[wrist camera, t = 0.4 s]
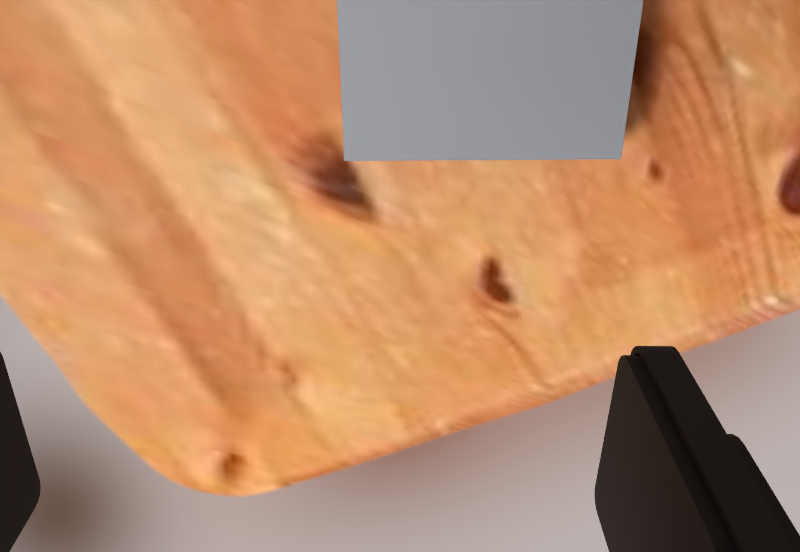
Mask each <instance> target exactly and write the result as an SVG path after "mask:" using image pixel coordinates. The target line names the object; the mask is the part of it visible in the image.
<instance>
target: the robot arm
mask: <svg viewBox="0 0 800 552" xmlns="http://www.w3.org/2000/svg"><path fill="white" fill-rule="evenodd" d="M39 496H40V480H39V476H38V473H37V469H36V466H35V463H34V459H33V456H32V453H31V449H30V446H29V443H28V440H27V436H26V433H25V429H24V426H23V423H22V419H21V416H20V413H19V409H18V406H17V403H16V399H15V396H14V393H13V389H12V386H11V383H10V379H9V376H8V372H7V369H6V366H5V362H4V359H3V356H2V354H1V352H0V552H9V551H10V550H11V548H12V546H13V544H14V543H15V541H16V539H17V537H18V536H19V534H20V533H21V531H22V529H23V527H24V526H25V524H26V522H27V520H28V519H29V517H30V515H31V514H32V512H33V510H34V509H35V507H36V505H37V503H38V500H39ZM595 504H596V509H597V513H598V517H599V520H600V523H601V527H602V530H603V533H604V536H605V540H606V542H607V546H608V549H609V552H800V536H799V534H798V532H797V531H796V529H795V527H794V526H793V524H792V522H791V521H790V519H789V517H788V516H787V514H786V512H785V511H784V509H783V507H782V506H781V504H780V503H779V501H778V499H777V498H776V496H775V495H774V493H773V491H772V489H771V488H770V486H769V484H768V483H767V481H766V479H765V478H764V476H763V475H762V473H761V471H760V470H759V468H758V466H757V465H756V463H755V462H754V460H753V458H752V457H751V455H750V453H749V452H748V450H747V448H746V447H745V445H744V444H743V442H742V441H741V440H740V439H739V438H738V437H737V436H735V435H733V434H726V432H725V430H724V429H723V427H722V425H721V423H720V422H719V420H718V418H717V417H716V415H715V413H714V412H713V410H712V408H711V406H710V405H709V403H708V402H707V400H706V398H705V396H704V395H703V393H702V391H701V389H700V388H699V386H698V384H697V383H696V381H695V379H694V378H693V376H692V374H691V372H690V371H689V369H688V367H687V366H686V364H685V362H684V360H683V359H682V357H681V355H680V354H679V352H678V350H677V349H676V348H675V347H672V346H636V347H634V348H633V350H632V352H631V355H623V356H621V357H620V359H619V362H618V367H617V372H616V378H615V383H614V388H613V394H612V399H611V405H610V410H609V415H608V420H607V426H606V431H605V437H604V442H603V448H602V453H601V458H600V463H599V469H598V474H597V480H596V485H595Z"/></svg>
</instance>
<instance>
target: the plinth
mask: <svg viewBox="0 0 800 552" xmlns="http://www.w3.org/2000/svg"><path fill="white" fill-rule="evenodd" d="M642 6H643V0H337V10H338V32H339V54H340V76H341V98H342V120H343V142H344V161H404V160H561V159H621V155H622V148H623V141H624V134H625V127H626V120H627V113H628V106H629V99H630V91H631V84H632V77H633V70H634V63H635V56H636V49H637V42H638V35H639V28H640V21H641V14H642Z"/></svg>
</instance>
